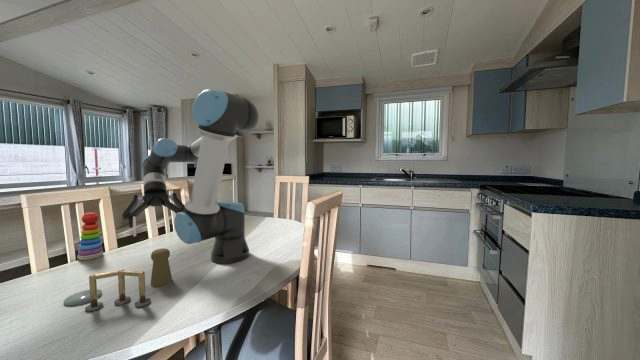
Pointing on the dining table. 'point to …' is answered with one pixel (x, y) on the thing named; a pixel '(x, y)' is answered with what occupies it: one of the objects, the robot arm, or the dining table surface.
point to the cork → (160, 268)
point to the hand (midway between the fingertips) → (158, 231)
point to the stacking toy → (90, 238)
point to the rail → (121, 282)
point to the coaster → (80, 298)
